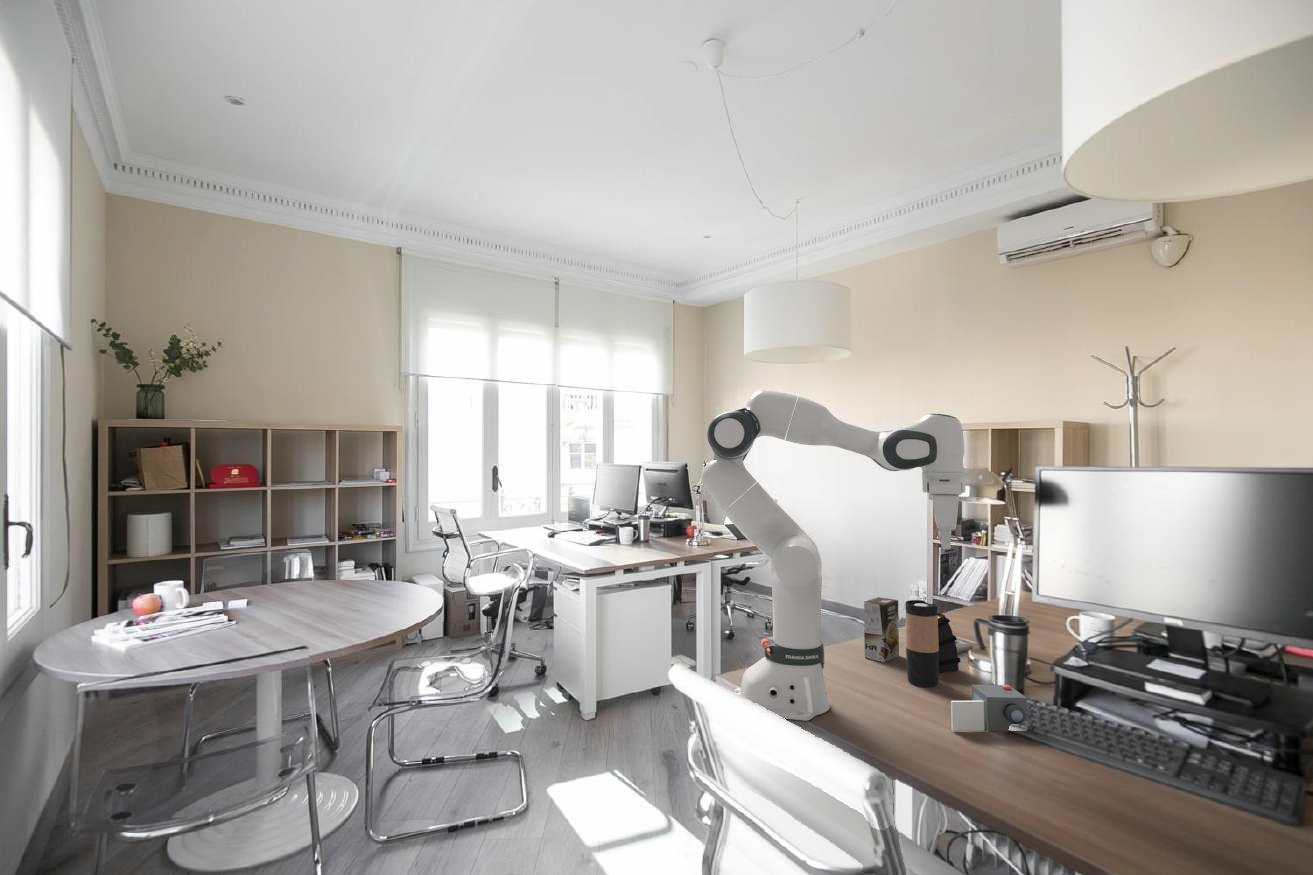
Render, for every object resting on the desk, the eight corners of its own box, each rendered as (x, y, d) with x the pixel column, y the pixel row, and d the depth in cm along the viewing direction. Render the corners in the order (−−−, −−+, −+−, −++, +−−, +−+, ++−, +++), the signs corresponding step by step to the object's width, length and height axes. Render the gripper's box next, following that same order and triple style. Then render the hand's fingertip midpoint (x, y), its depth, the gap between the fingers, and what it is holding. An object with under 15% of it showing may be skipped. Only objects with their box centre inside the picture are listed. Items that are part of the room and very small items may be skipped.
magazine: (971, 665, 161) (947, 614, 161) (929, 688, 160) (904, 637, 160) (963, 660, 165) (939, 611, 165) (922, 683, 164) (897, 633, 164)
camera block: (992, 735, 124) (991, 697, 124) (972, 716, 133) (971, 681, 133) (1033, 736, 123) (1032, 698, 124) (1009, 717, 132) (1009, 682, 133)
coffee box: (885, 663, 168) (884, 604, 169) (863, 657, 173) (862, 601, 174) (900, 656, 174) (899, 599, 175) (879, 650, 179) (878, 596, 180)
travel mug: (910, 687, 150) (908, 606, 151) (903, 676, 158) (902, 599, 159) (943, 689, 149) (941, 607, 150) (934, 678, 156) (933, 600, 157)
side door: (987, 730, 125) (987, 701, 126) (953, 731, 125) (952, 702, 125) (985, 729, 126) (985, 699, 126) (951, 729, 126) (950, 700, 126)
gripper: (927, 483, 148) (929, 539, 148) (929, 486, 129) (930, 551, 129) (956, 483, 146) (957, 540, 145) (962, 486, 127) (963, 552, 126)
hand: (945, 545), depth 137 cm, fingers open, 8 cm apart
